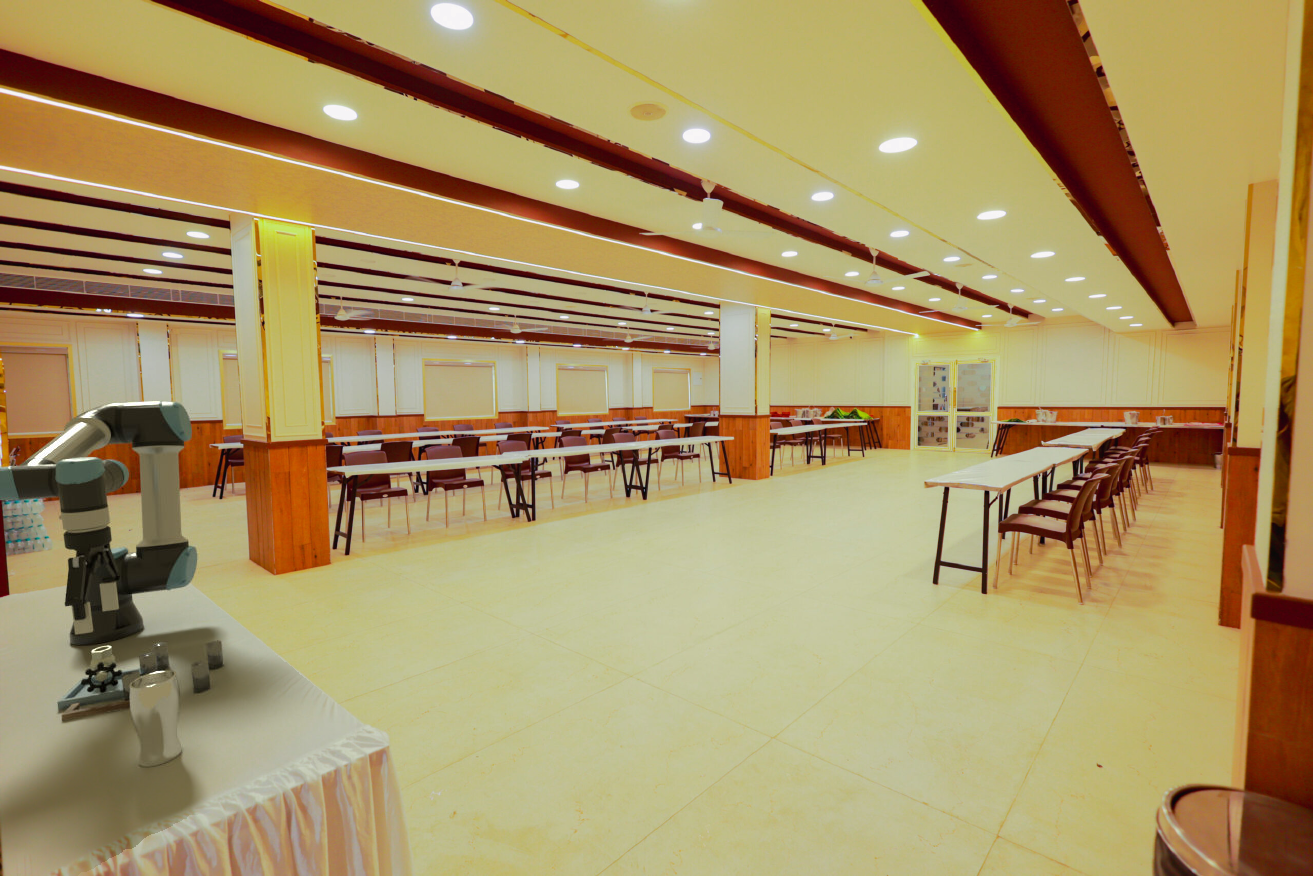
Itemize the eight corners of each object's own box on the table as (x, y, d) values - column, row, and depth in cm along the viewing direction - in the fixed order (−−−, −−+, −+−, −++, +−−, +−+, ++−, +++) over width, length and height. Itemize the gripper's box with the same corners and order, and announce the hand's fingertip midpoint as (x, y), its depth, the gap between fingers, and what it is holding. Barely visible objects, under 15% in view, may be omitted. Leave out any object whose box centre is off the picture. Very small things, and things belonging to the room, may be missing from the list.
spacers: (153, 667, 146) (150, 643, 145) (229, 654, 152) (227, 631, 151) (120, 707, 127) (117, 680, 127) (208, 690, 134) (205, 665, 133)
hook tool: (72, 709, 127) (72, 704, 127) (155, 694, 133) (154, 689, 132) (62, 720, 123) (61, 715, 123) (147, 704, 128) (147, 699, 128)
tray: (83, 685, 137) (82, 677, 137) (146, 674, 142) (146, 667, 142) (58, 710, 127) (57, 702, 127) (127, 697, 132) (126, 689, 131)
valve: (85, 678, 137) (82, 698, 128) (82, 650, 136) (79, 668, 127) (123, 668, 141) (123, 687, 132) (120, 641, 141) (120, 658, 132)
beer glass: (155, 746, 113) (147, 671, 112) (193, 744, 114) (186, 668, 112) (125, 770, 106) (117, 690, 105) (167, 767, 107) (159, 687, 105)
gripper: (90, 517, 141) (100, 604, 143) (33, 545, 118) (47, 647, 120) (130, 514, 144) (140, 598, 146) (83, 540, 121) (95, 640, 124)
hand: (98, 621), depth 133 cm, fingers open, 13 cm apart
